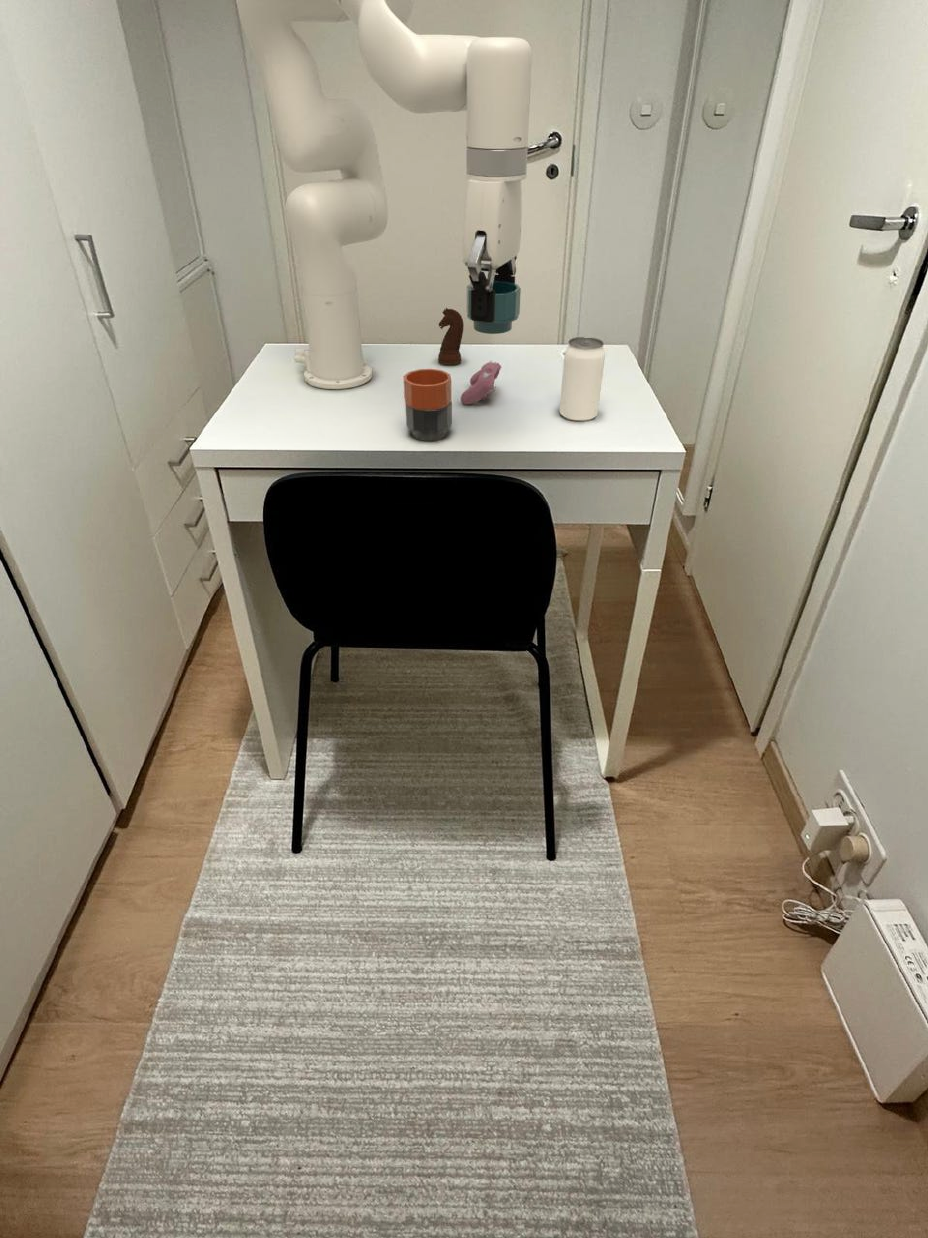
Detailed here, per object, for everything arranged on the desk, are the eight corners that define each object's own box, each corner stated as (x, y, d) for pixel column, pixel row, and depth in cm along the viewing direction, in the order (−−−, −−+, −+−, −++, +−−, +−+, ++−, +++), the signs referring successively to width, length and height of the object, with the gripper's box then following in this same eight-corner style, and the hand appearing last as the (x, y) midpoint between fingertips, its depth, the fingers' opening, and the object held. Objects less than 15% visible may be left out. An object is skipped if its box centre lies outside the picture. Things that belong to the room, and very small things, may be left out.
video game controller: (480, 415, 126) (499, 381, 122) (457, 402, 125) (476, 367, 121) (490, 394, 134) (508, 361, 129) (468, 381, 133) (486, 348, 129)
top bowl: (459, 332, 101) (459, 290, 98) (478, 318, 106) (478, 278, 103) (507, 338, 99) (509, 296, 95) (524, 323, 104) (527, 283, 101)
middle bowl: (397, 415, 113) (395, 381, 109) (417, 399, 118) (416, 366, 115) (439, 423, 111) (439, 388, 107) (458, 406, 116) (458, 372, 112)
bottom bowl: (399, 438, 115) (397, 406, 112) (418, 421, 120) (417, 389, 117) (440, 446, 113) (440, 413, 110) (458, 428, 118) (458, 396, 115)
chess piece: (443, 356, 145) (442, 304, 139) (467, 360, 144) (467, 307, 137) (434, 364, 142) (433, 310, 135) (458, 367, 140) (458, 313, 134)
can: (573, 424, 119) (580, 351, 112) (551, 410, 124) (557, 339, 116) (605, 417, 122) (614, 345, 114) (583, 404, 126) (591, 333, 119)
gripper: (493, 155, 98) (490, 294, 109) (440, 171, 85) (443, 327, 96) (546, 157, 95) (537, 300, 106) (500, 174, 83) (496, 334, 94)
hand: (493, 312), depth 101 cm, fingers closed on top bowl, 7 cm apart
